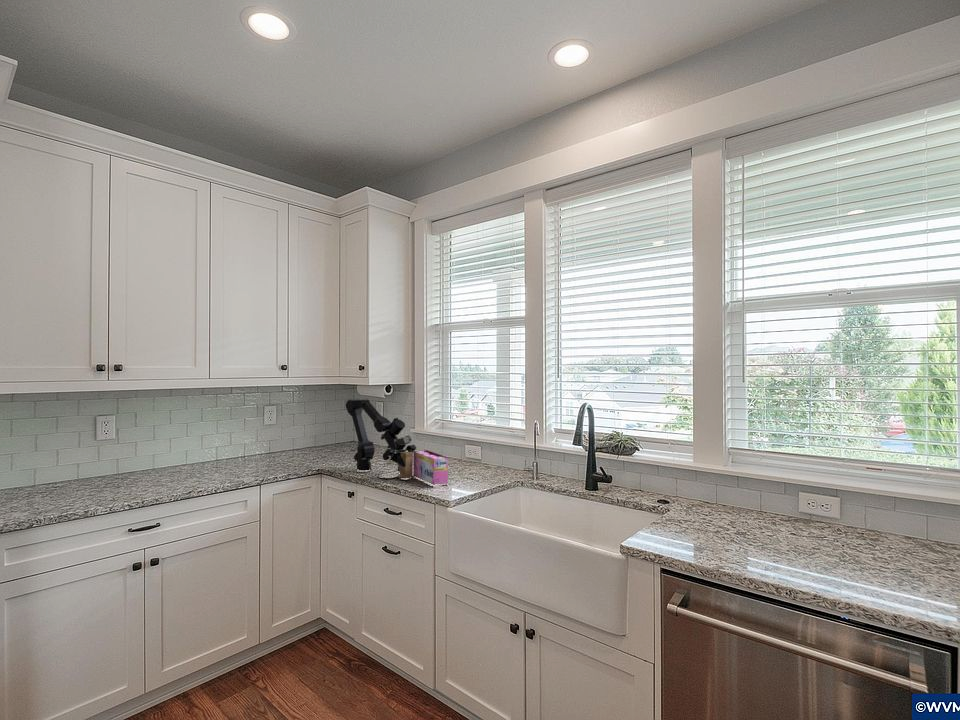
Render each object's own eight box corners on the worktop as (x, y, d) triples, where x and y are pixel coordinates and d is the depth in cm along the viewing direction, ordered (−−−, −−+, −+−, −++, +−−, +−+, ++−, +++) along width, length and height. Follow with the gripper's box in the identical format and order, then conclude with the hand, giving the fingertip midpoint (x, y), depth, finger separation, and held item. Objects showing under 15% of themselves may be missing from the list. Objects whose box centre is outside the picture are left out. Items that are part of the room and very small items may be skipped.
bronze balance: (384, 474, 253) (384, 455, 253) (387, 472, 257) (387, 453, 257) (410, 475, 251) (410, 456, 251) (412, 473, 255) (412, 454, 255)
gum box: (411, 477, 247) (411, 450, 247) (425, 475, 251) (426, 449, 251) (433, 488, 226) (433, 458, 227) (448, 486, 231) (448, 457, 231)
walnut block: (399, 479, 240) (399, 452, 240) (405, 477, 244) (406, 451, 244) (405, 480, 237) (406, 453, 237) (412, 478, 241) (412, 452, 241)
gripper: (386, 432, 235) (402, 458, 229) (414, 428, 250) (429, 452, 244) (375, 447, 240) (390, 472, 233) (402, 442, 255) (418, 466, 248)
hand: (408, 465), depth 240 cm, fingers closed on walnut block, 4 cm apart
